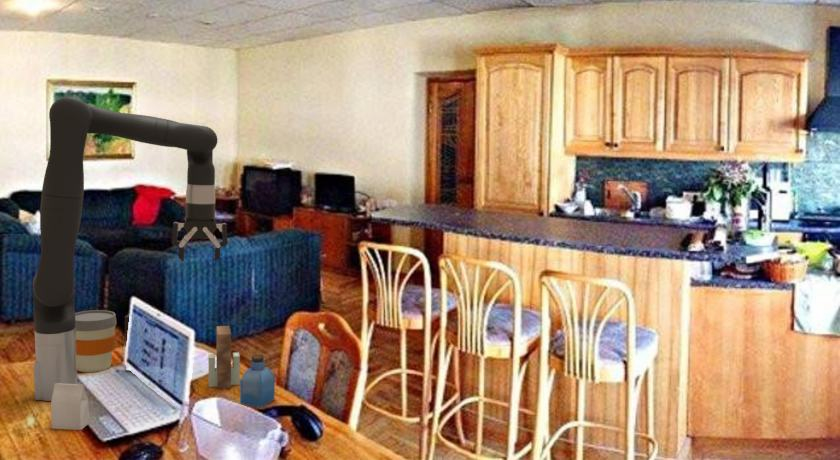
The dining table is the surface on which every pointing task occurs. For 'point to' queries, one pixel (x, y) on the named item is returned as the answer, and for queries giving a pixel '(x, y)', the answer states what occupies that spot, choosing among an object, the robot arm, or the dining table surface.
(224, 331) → the walnut plate
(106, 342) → the reusable coffee cup
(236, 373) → the slotted stand
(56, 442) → the dining table surface
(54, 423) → the grey box
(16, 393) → the dining table surface
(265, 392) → the perfume bottle
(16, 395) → the dining table surface
